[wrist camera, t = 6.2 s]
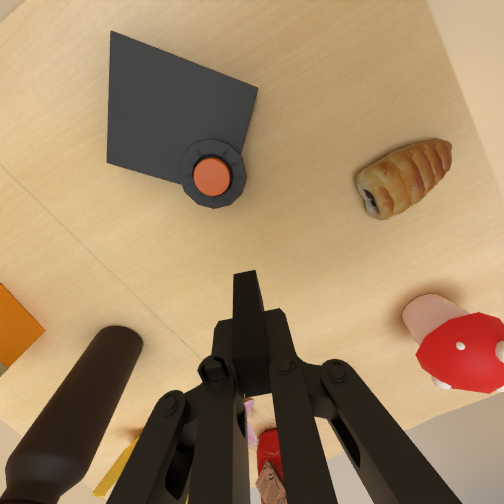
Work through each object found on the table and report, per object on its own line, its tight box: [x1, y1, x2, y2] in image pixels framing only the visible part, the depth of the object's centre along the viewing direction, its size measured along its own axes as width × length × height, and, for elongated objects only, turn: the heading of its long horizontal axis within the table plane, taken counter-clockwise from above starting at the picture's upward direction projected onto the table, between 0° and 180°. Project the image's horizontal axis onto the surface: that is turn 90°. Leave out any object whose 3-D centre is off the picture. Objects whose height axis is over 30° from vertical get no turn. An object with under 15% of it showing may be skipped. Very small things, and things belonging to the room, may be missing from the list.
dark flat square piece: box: [107, 31, 258, 209], centre depth 21 cm, size 13×11×4 cm
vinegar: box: [0, 327, 143, 504], centre depth 26 cm, size 7×7×20 cm
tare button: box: [194, 157, 230, 196], centre depth 21 cm, size 3×3×2 cm
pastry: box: [356, 138, 452, 220], centre depth 24 cm, size 9×7×4 cm
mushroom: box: [402, 294, 504, 394], centre depth 30 cm, size 11×11×12 cm
